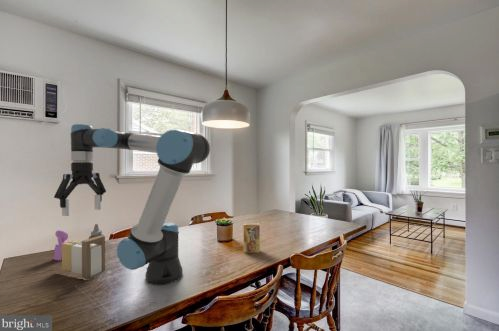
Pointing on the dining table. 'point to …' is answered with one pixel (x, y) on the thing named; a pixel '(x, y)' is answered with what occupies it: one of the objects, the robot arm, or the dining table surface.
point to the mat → (98, 274)
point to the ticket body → (88, 257)
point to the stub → (67, 255)
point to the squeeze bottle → (96, 232)
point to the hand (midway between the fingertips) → (82, 212)
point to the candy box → (251, 237)
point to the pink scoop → (60, 244)
